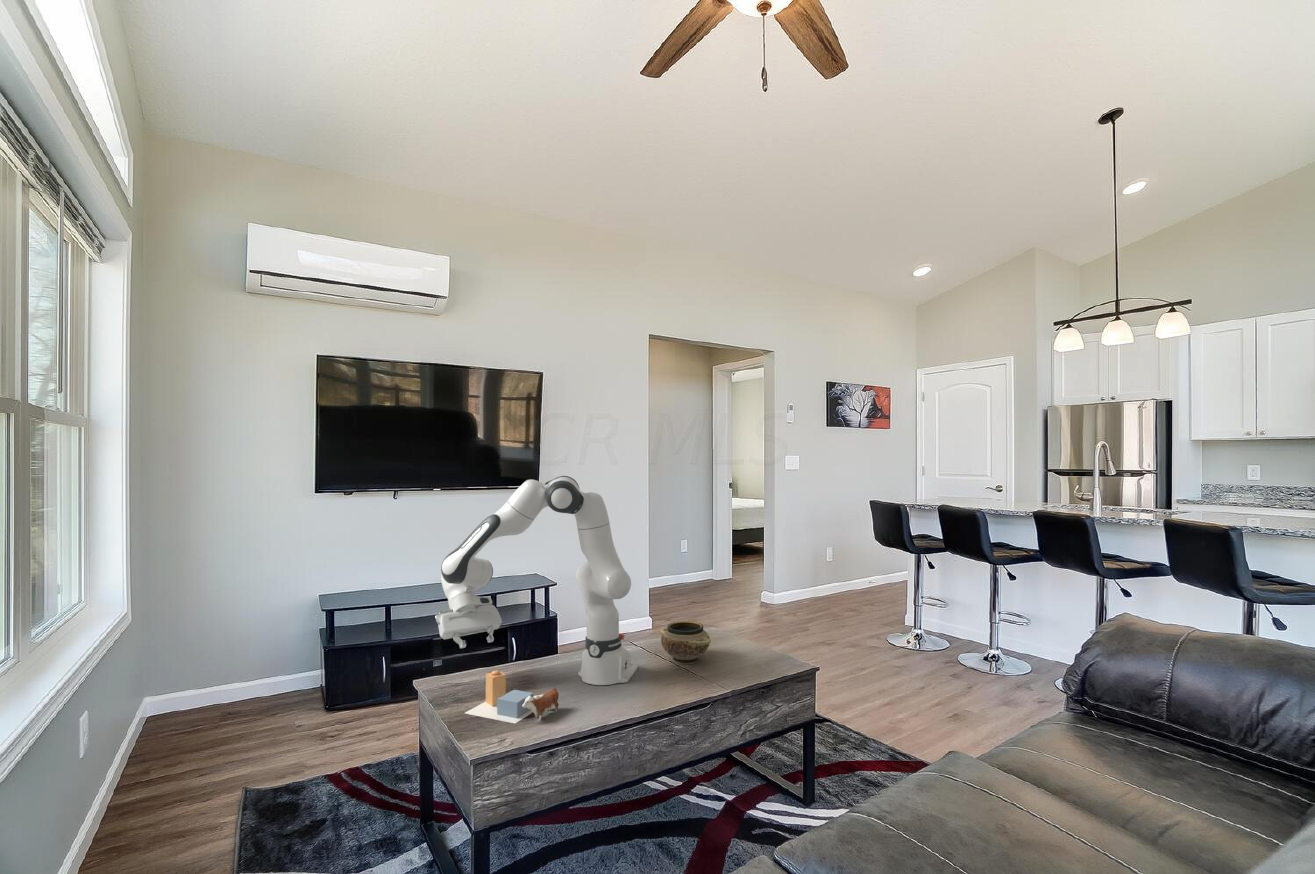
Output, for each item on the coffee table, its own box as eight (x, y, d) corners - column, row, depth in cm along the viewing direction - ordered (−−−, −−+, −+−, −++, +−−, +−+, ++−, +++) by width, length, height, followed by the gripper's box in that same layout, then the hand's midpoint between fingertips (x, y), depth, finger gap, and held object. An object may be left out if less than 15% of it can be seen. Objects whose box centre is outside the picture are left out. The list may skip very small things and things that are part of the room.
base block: (513, 704, 193) (513, 689, 193) (533, 708, 190) (533, 693, 190) (497, 714, 186) (497, 698, 186) (517, 718, 183) (517, 702, 183)
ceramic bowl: (652, 662, 243) (644, 625, 241) (688, 642, 253) (680, 607, 251) (691, 681, 223) (683, 641, 221) (729, 659, 233) (721, 620, 231)
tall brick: (485, 702, 195) (485, 671, 195) (498, 698, 198) (498, 668, 198) (492, 706, 191) (492, 675, 192) (505, 702, 194) (505, 671, 194)
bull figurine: (519, 725, 180) (519, 696, 180) (552, 710, 191) (552, 682, 192) (530, 729, 178) (530, 700, 178) (563, 713, 189) (563, 685, 189)
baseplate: (500, 696, 202) (500, 693, 202) (548, 705, 195) (548, 701, 195) (464, 716, 187) (464, 713, 187) (515, 727, 179) (515, 723, 179)
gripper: (436, 607, 203) (449, 644, 196) (495, 597, 217) (509, 632, 209) (430, 618, 206) (443, 656, 199) (489, 608, 220) (502, 643, 212)
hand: (477, 644), depth 204 cm, fingers open, 8 cm apart
